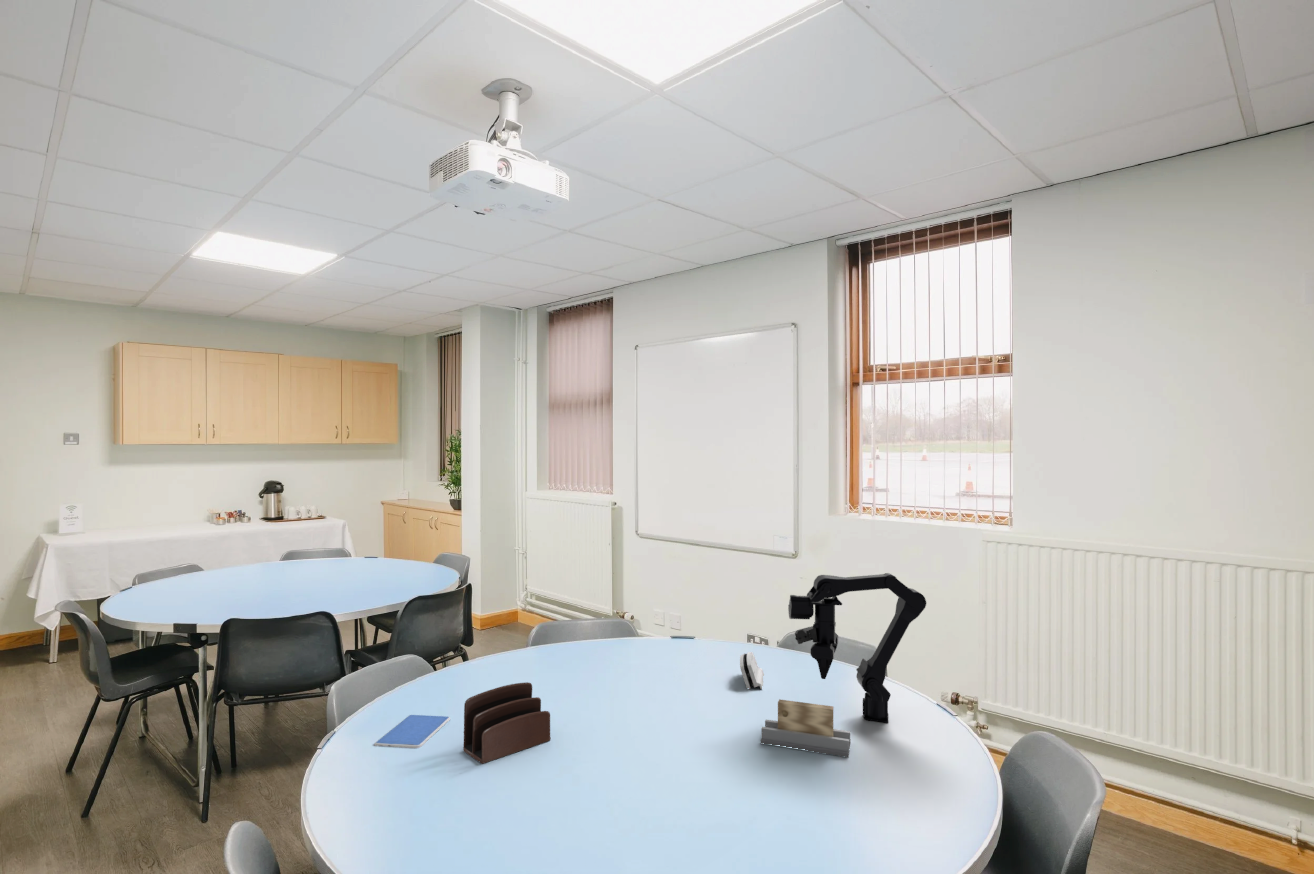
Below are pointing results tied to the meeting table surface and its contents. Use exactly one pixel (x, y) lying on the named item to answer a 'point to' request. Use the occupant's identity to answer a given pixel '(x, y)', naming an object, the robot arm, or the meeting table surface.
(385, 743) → the tablet computer
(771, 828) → the meeting table surface
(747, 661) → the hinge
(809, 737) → the door track
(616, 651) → the meeting table surface
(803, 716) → the door panel
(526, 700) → the letter holder
